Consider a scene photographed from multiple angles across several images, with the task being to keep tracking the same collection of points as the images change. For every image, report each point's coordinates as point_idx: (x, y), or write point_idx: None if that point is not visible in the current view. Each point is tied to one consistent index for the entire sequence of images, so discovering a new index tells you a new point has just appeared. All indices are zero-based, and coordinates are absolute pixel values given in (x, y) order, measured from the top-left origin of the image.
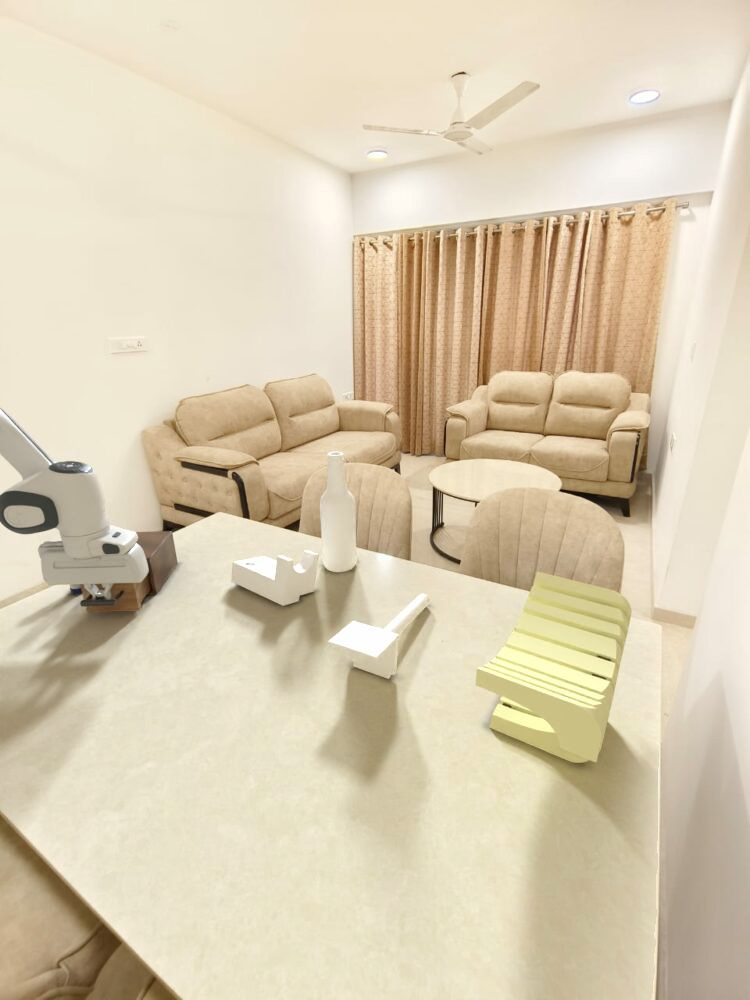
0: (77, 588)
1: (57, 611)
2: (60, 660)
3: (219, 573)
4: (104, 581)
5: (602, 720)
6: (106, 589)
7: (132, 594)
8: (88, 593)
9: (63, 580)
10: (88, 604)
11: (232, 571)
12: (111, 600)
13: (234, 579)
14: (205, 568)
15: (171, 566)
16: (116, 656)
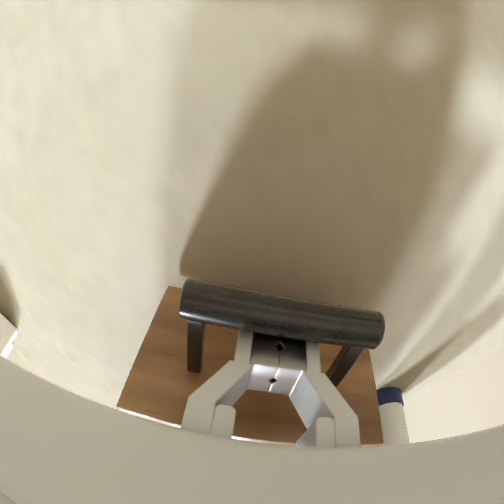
0: (387, 403)
1: (438, 338)
2: (409, 37)
3: (71, 368)
4: (181, 449)
5: None
6: (215, 387)
7: (158, 344)
8: (352, 385)
9: (467, 462)
10: (343, 314)
11: (3, 346)
12: (200, 311)
13: (5, 327)
14: (109, 392)
15: None
16: (169, 7)
